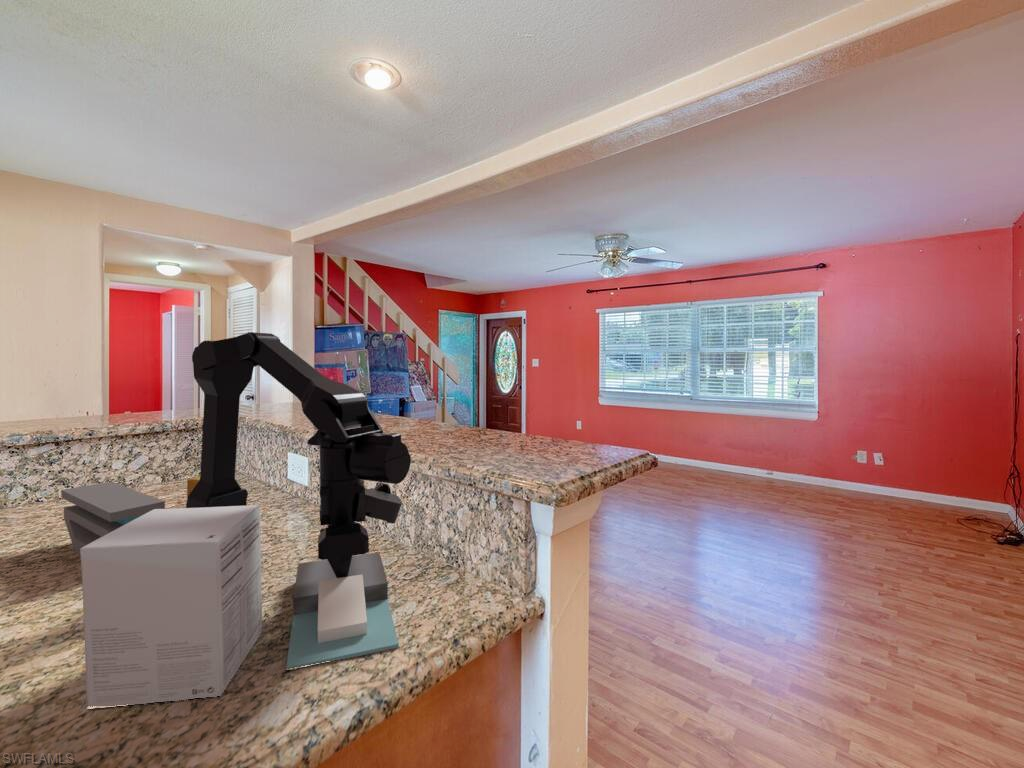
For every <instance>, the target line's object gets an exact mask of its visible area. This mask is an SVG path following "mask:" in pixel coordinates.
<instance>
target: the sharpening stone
mask: <svg viewBox="0 0 1024 768" xmlns="http://www.w3.org/2000/svg"><path fill="white" fill-rule="evenodd" d="M60 494H61V495H60V498H61V499H63V500H65V501H67V502H69V503H71V504H73V505H71V506H65V507H63V520H64V523H65V525H66V529H67V532H68V535H69V538H70V541H71V543H72V547H73V550H74V553H75V554H77V555H79V557H81V554H80V549H81V548H82V547H84V546H86V545H88V544H90V543H91V542H93V541H95V540H97V539H99V538H101V537H103V536H105V535H106V534H108V533H110V532H112V531H114V530H116V529H118V528H120V527H121V526H123V525H125V524H127V523H129V522H131V521H133V520H135V519H136V518H138V517H140V516H142V515H144V514H146V513H148V512H150V511H152V510H153V509H166V504H165V500H162V499H160V498H157V497H154V496H152V495H150V494H146V493H144V492H141V491H139V490H135V489H133V488H131V487H127V486H124V485H122V484H121V483H120V484H119V483H117V482H114V481H113V480H112V481H107V482H101V483H94V484H90V485H89V484H88V485H83V486H76V487H70V488H66V489H61V490H60Z"/></svg>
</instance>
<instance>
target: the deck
mask: <svg viewBox="0 0 1024 768" xmlns="http://www.w3.org/2000/svg"><path fill="white" fill-rule="evenodd" d="M384 567H385V566H384V564H383V560H382V556H381V552H379V551H378V552H372V553H366V554H361V555H354V556H352V559H351V564H350V568H349V573H348V577H349V576H355V575H362V574H363V583H364V594H365V603H367V602H373V601H379V600H384V599H388V600H389V597H388V595H389V594H388V593H389V592H388V591H389V588H388V585H389V583H388V579H387V575H386V572H385V568H384ZM336 578H337V577H336V575H335V573H334V571H333V569H332V567H331V565H330V564H329V562H328V560H327V559H326V560H321V559H319V560H313V561H307V562H300V563H298V564H297V570H296V576H295V583H294V590H293V596H292V604H293V605H292V608H293V609H292V612H293V613H292V614H293V615H299V614H304V613H310V612H316V611H318V595H319V581H322V580H329V579H336Z"/></svg>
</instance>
